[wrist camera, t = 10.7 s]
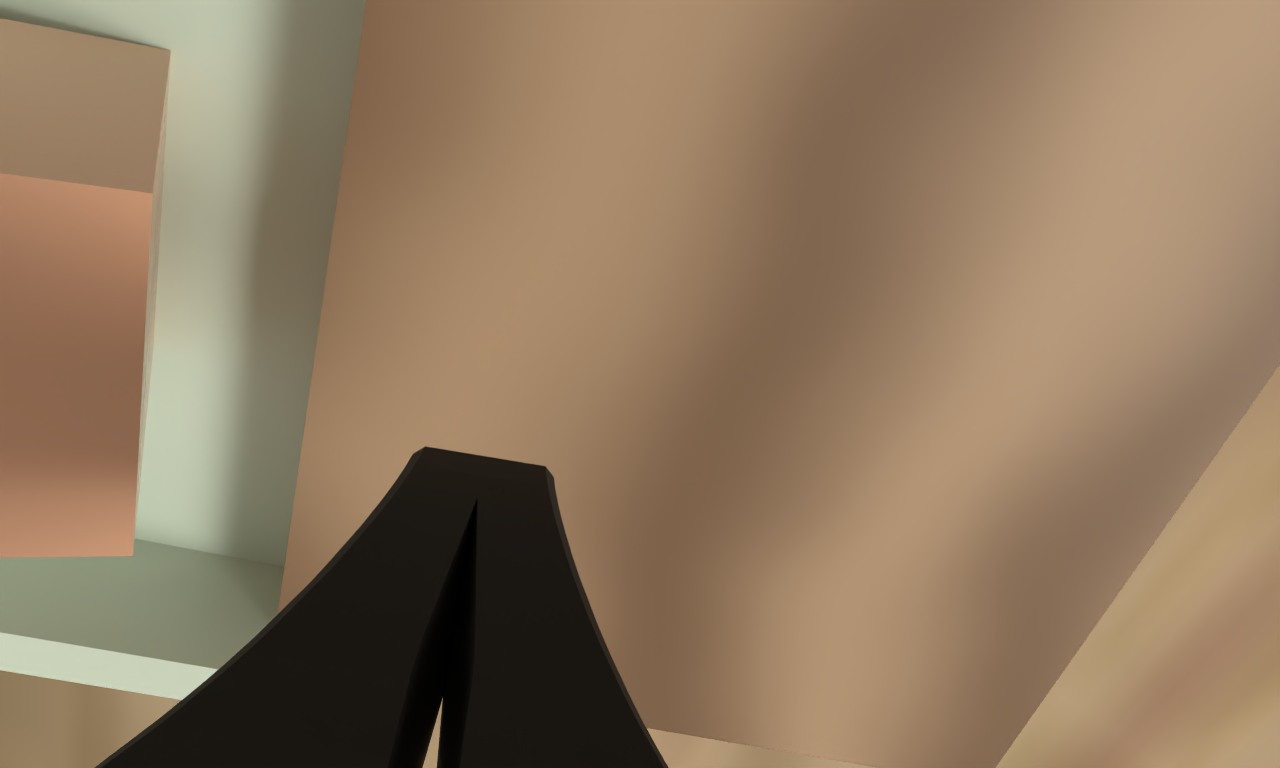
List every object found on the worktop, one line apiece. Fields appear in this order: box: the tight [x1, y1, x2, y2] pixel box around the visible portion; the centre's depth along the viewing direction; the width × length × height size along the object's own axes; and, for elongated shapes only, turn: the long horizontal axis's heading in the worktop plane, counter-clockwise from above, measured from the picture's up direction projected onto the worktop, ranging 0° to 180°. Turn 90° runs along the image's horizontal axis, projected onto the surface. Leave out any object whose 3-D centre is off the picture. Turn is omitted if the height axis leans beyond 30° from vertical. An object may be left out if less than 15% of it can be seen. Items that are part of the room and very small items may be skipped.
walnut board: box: [278, 0, 1280, 768], centre depth 14 cm, size 13×17×2 cm
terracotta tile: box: [0, 18, 171, 558], centre depth 11 cm, size 4×4×2 cm
